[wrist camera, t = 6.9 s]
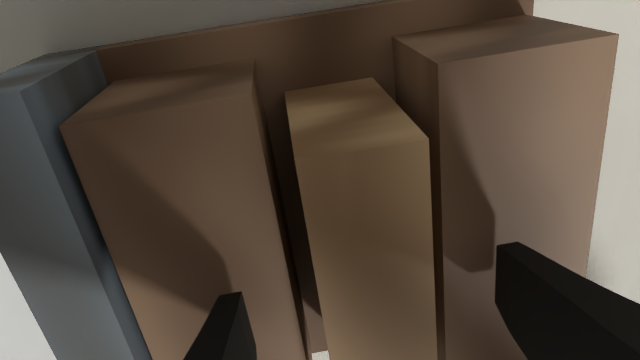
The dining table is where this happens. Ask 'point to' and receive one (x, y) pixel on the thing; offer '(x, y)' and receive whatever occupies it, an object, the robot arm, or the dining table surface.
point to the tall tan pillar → (366, 219)
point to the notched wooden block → (289, 170)
